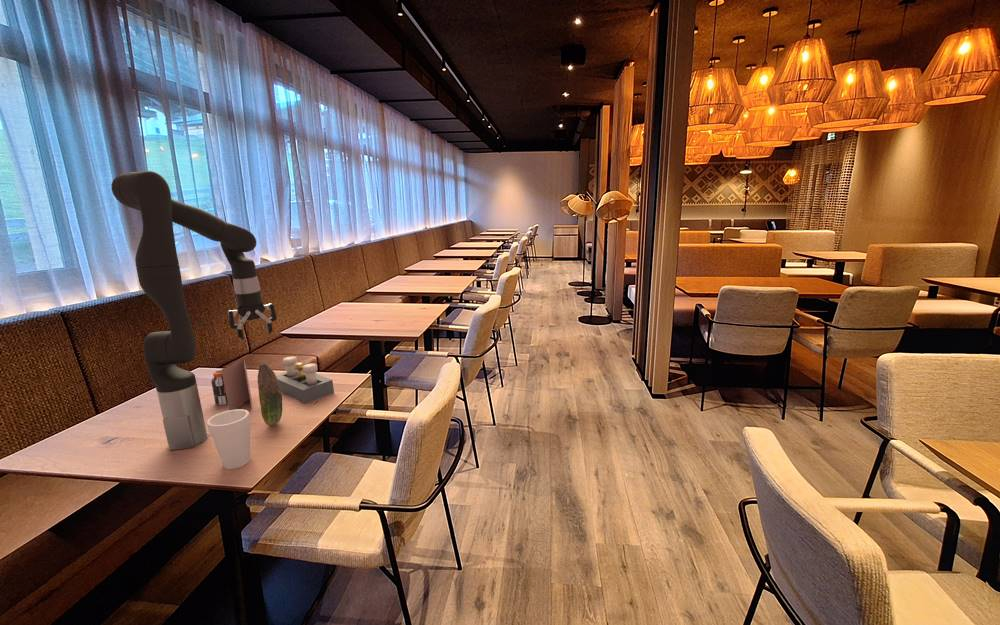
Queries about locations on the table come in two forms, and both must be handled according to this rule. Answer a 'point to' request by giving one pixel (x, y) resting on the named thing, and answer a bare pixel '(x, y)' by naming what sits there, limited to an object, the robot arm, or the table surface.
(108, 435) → the table surface
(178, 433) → the robot arm
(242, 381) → the greeting card
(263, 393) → the vegetable
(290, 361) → the far cream knob
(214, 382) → the pill bottle
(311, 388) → the mount
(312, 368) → the near cream knob
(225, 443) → the foam cup
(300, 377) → the gold tall rounded piece
